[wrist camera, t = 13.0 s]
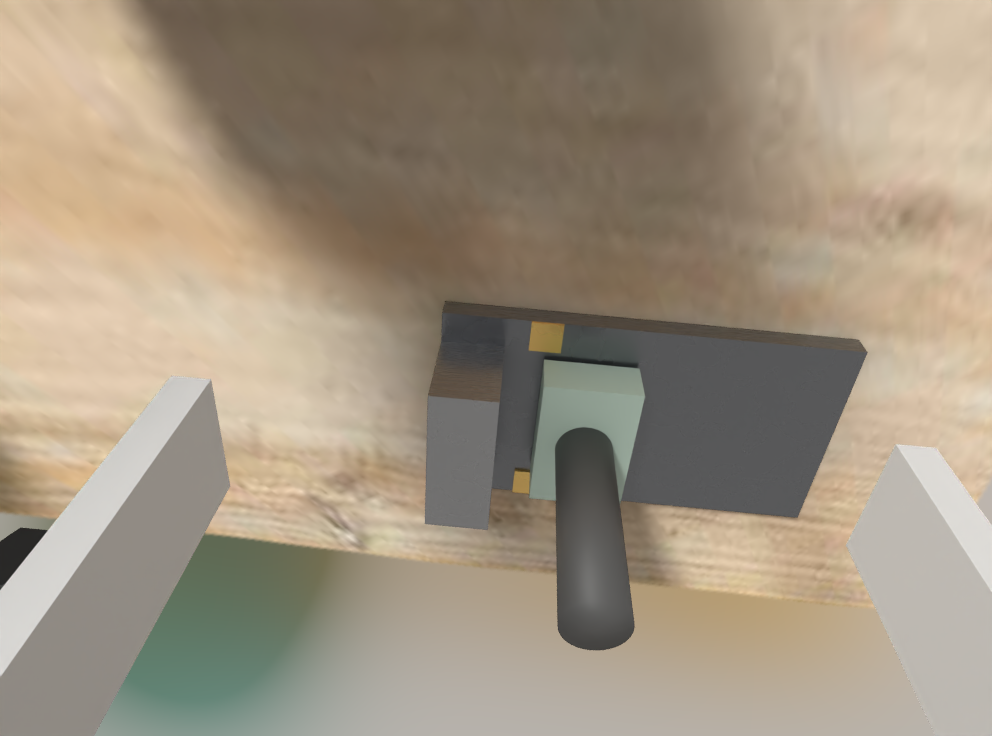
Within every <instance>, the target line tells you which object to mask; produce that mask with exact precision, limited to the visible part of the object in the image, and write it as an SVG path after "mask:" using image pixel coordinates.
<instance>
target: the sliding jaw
mask: <svg viewBox="0 0 992 736" xmlns="http://www.w3.org/2000/svg"><path fill="white" fill-rule="evenodd" d="M644 399H645V393H644V388H643V383H642V378H641V373H640V369H639V368H628V367H618V366H607V365H596V364H586V363H575V362H564V361H554V360H544V364H543V372H542V380H541V387H540V395H539V402H538V410H537V418H536V425H535V433H534V441H533V448H532V456H531V464H530V482H529V498H532V499H543V500H553V501H556V551H557V613H558V614H557V615H558V631H559V633H560V635H561V636H562V638H563V639H564V640H565V641H567V642H568V643H570V644H571V645H574V646H576V647H578V648H582V649H587V650H606V649H610V648H614V647H616V646H619V645H621V644H623V643H624V642H626V641H627V640H628V639H629V638H630V637H631V635H632V633H633V631H634V617H633V609H632V601H631V593H630V584H629V576H628V568H627V560H626V552H625V543H624V535H623V527H622V519H621V511H620V503H621V498H622V494H623V490H624V485H625V481H626V477H627V472H628V468H629V464H630V459H631V455H632V451H633V447H634V442H635V438H636V434H637V429H638V425H639V421H640V416H641V412H642V408H643V403H644Z"/></svg>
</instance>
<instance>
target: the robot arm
mask: <svg viewBox="0 0 992 736" xmlns="http://www.w3.org/2000/svg"><path fill="white" fill-rule="evenodd" d="M229 487H230V483H229V477H228V471H227V466H226V460H225V455H224V449H223V443H222V438H221V432H220V427H219V421H218V416H217V410H216V404H215V399H214V393H213V388H212V382H211V379H201V378H191V377H180V376H171V377H170V378H169V379H168V381H167V382H166V383H165V384H164V386H163V387H162V388H161V389H160V391H159V392H158V393H157V395H156V396H155V397H154V398H153V400H152V401H151V402H150V403H149V405H148V406H147V407H146V408H145V410H144V411H143V412H142V413H141V415H140V416H139V417H138V418H137V420H136V421H135V422H134V423H133V425H132V426H131V427H130V428H129V430H128V431H127V432H126V433H125V435H124V436H123V437H122V438H121V440H120V441H119V442H118V443H117V445H116V446H115V447H114V448H113V450H112V451H111V452H110V453H109V455H108V456H107V457H106V458H105V460H104V461H103V462H102V463H101V465H100V466H99V467H98V468H97V470H96V471H95V472H94V473H93V475H92V476H91V477H90V478H89V480H88V481H87V482H86V483H85V485H84V486H83V487H82V488H81V490H80V491H79V492H78V494H77V495H76V496H75V497H74V499H73V500H72V501H71V502H70V504H69V505H68V506H67V507H66V509H65V510H64V511H63V512H62V514H61V515H60V516H59V517H58V519H57V520H56V521H55V522H54V524H53V525H52V526H51V527H50V529H49V530H39V529H29V528H20V529H18V530H16V531H15V532H13V533H12V534H10V535H9V536H7V537H6V538H5V539H3V540H2V541H1V542H0V736H94V735H95V733H96V731H97V729H98V727H99V725H100V724H101V722H102V720H103V718H104V716H105V715H106V713H107V711H108V709H109V707H110V705H111V703H112V702H113V700H114V698H115V696H116V694H117V693H118V691H119V689H120V687H121V685H122V683H123V682H124V680H125V678H126V676H127V674H128V672H129V670H130V669H131V667H132V665H133V663H134V661H135V659H136V658H137V656H138V654H139V652H140V650H141V649H142V647H143V645H144V643H145V641H146V639H147V637H148V636H149V634H150V632H151V630H152V628H153V626H154V625H155V623H156V621H157V619H158V617H159V615H160V614H161V612H162V610H163V608H164V606H165V604H166V603H167V601H168V599H169V597H170V595H171V593H172V592H173V590H174V588H175V586H176V584H177V582H178V581H179V579H180V577H181V575H182V573H183V571H184V570H185V568H186V566H187V564H188V562H189V560H190V559H191V557H192V555H193V553H194V551H195V549H196V547H197V546H198V544H199V542H200V540H201V538H202V537H203V535H204V533H205V531H206V529H207V527H208V526H209V524H210V522H211V520H212V518H213V516H214V515H215V513H216V511H217V509H218V507H219V505H220V504H221V502H222V500H223V498H224V496H225V494H226V493H227V491H228V489H229ZM846 546H847V548H848V551H849V553H850V555H851V557H852V559H853V561H854V563H855V566H856V568H857V570H858V572H859V574H860V576H861V578H862V580H863V583H864V585H865V587H866V589H867V591H868V593H869V595H870V598H871V600H872V602H873V604H874V606H875V608H876V610H877V612H878V615H879V617H880V619H881V621H882V623H883V625H884V628H885V630H886V632H887V633H888V636H889V638H890V640H891V642H892V645H893V647H894V649H895V651H896V653H897V655H898V657H899V660H900V662H901V664H902V666H903V668H904V670H905V672H906V675H907V677H908V679H909V681H910V683H911V685H912V687H913V689H914V692H915V694H916V696H917V698H918V700H919V702H920V704H921V706H922V709H923V711H924V713H925V715H926V717H927V719H928V722H929V724H930V726H931V728H932V730H933V732H934V734H935V736H992V525H991V524H990V522H989V521H988V520H987V518H986V517H985V515H984V514H983V513H982V511H981V510H980V508H979V507H978V506H977V504H976V503H975V501H974V500H973V499H972V497H971V496H970V494H969V493H968V492H967V490H966V489H965V488H964V486H963V485H962V483H961V482H960V481H959V479H958V478H957V476H956V475H955V474H954V472H953V471H952V469H951V468H950V467H949V465H948V464H947V462H946V461H945V460H944V458H943V457H942V455H941V454H940V453H939V451H938V450H937V449H936V448H931V447H921V446H910V445H899V444H896V445H895V447H894V449H893V451H892V453H891V455H890V457H889V459H888V461H887V463H886V465H885V467H884V469H883V471H882V473H881V475H880V477H879V479H878V481H877V483H876V485H875V487H874V489H873V491H872V493H871V495H870V497H869V499H868V501H867V503H866V506H865V508H864V510H863V512H862V514H861V516H860V518H859V520H858V522H857V524H856V526H855V528H854V530H853V532H852V534H851V536H850V538H849V540H848V542H847V544H846Z"/></svg>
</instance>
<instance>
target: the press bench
mask: <svg viewBox="0 0 992 736" xmlns="http://www.w3.org/2000/svg"><path fill="white" fill-rule="evenodd" d="M866 355H867V351H866V350H865V348H864V347H863V345H862V344H861V343H860V341H859V340H856V339H845V338H834V337H824V336H813V335H802V334H791V333H781V332H770V331H759V330H748V329H738V328H727V327H716V326H705V325H695V324H684V323H673V322H662V321H652V320H641V319H630V318H619V317H609V316H598V315H587V314H576V313H566V312H555V311H544V310H533V309H523V308H512V307H501V306H491V305H480V304H469V303H458V302H448V301H445V305H444V309H443V312H442V338H441V344H440V349H439V353H438V357H437V361H436V365H435V369H434V373H433V378H432V382H431V386H430V390H429V394H428V418H427V458H426V498H425V524H431V525H442V526H452V527H462V528H473V529H483V530H488V521H489V510H490V500H491V489H492V488H494V489H505V490H512V492H516V493H526V494H529V482H530V464H531V456H532V448H533V441H534V433H535V425H536V418H537V410H538V402H539V395H540V387H541V380H542V372H543V364H544V360H554V361H564V362H575V363H586V364H596V365H607V366H618V367H628V368H639V369H640V373H641V378H642V383H643V388H644V393H645V399H644V403H643V408H642V412H641V416H640V421H639V425H638V429H637V434H636V438H635V442H634V447H633V451H632V455H631V459H630V464H629V468H628V472H627V477H626V481H625V485H624V490H623V494H622V498H621V501H630V502H640V503H651V504H661V505H672V506H682V507H693V508H703V509H714V510H724V511H734V512H745V513H755V514H766V515H776V516H787V517H798V515H799V512H800V510H801V508H802V505H803V503H804V500H805V498H806V496H807V493H808V491H809V489H810V486H811V484H812V482H813V479H814V477H815V475H816V472H817V470H818V468H819V465H820V463H821V461H822V458H823V456H824V453H825V451H826V449H827V446H828V444H829V442H830V439H831V437H832V435H833V432H834V430H835V428H836V425H837V423H838V421H839V418H840V416H841V414H842V411H843V409H844V407H845V404H846V402H847V399H848V397H849V395H850V392H851V390H852V388H853V385H854V383H855V381H856V378H857V376H858V374H859V371H860V369H861V367H862V364H863V362H864V360H865V357H866Z"/></svg>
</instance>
